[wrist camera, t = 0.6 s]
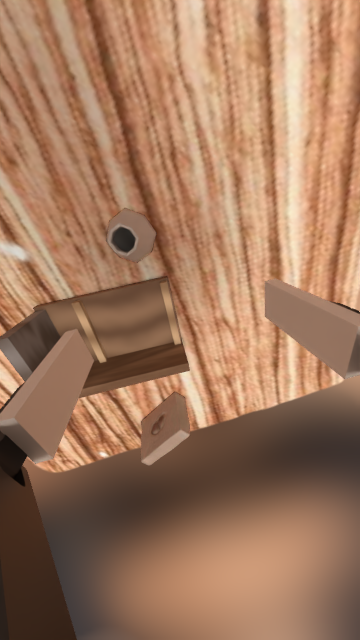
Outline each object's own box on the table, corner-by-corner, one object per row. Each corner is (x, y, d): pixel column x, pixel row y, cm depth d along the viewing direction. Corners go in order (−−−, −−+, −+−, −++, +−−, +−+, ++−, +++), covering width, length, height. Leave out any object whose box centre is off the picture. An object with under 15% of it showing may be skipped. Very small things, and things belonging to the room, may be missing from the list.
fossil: (174, 390, 44) (180, 429, 35) (185, 396, 45) (193, 435, 37) (140, 420, 47) (138, 463, 38) (151, 425, 48) (152, 468, 39)
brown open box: (37, 305, 31) (-10, 336, 22) (167, 276, 32) (173, 294, 23) (74, 369, 38) (49, 414, 29) (182, 343, 39) (192, 379, 29)
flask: (139, 270, 31) (134, 287, 22) (97, 242, 29) (74, 247, 20) (164, 231, 29) (170, 232, 21) (122, 197, 27) (108, 181, 18)
